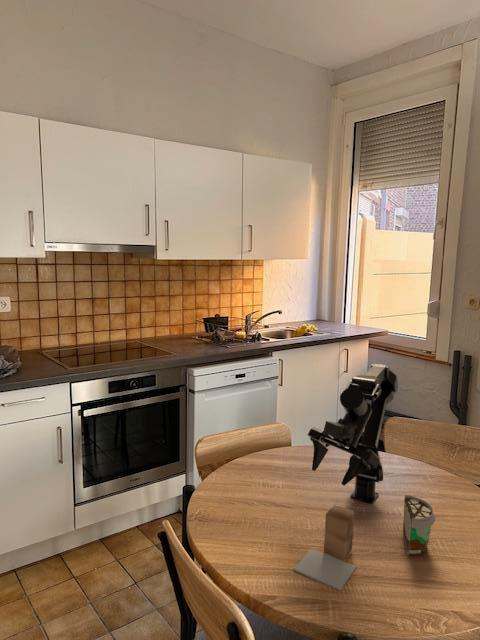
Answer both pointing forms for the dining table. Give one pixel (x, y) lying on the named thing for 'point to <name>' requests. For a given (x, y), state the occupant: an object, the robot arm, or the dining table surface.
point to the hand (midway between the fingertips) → (327, 477)
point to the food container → (417, 525)
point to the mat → (325, 569)
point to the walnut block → (339, 532)
